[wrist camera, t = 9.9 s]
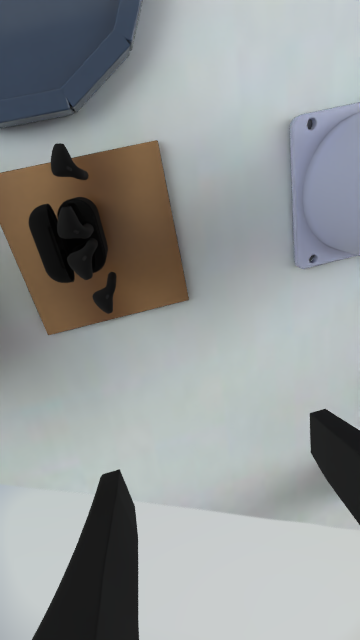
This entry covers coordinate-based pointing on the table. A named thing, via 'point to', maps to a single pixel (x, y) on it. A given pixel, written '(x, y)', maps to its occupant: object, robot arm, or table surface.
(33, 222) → the wireless earbuds
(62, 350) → the table surface
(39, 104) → the plate
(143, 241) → the cork coaster
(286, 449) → the table surface
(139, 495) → the table surface
